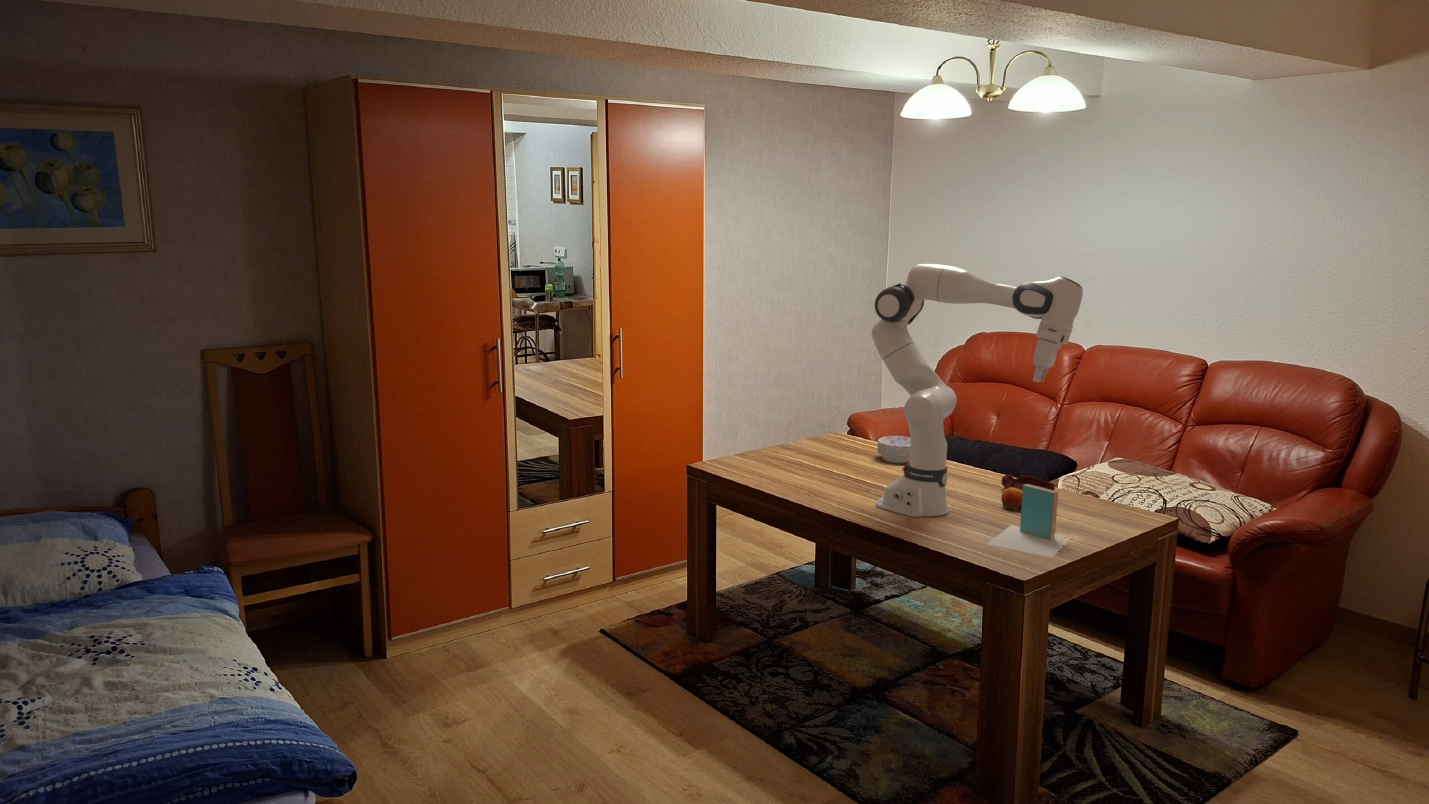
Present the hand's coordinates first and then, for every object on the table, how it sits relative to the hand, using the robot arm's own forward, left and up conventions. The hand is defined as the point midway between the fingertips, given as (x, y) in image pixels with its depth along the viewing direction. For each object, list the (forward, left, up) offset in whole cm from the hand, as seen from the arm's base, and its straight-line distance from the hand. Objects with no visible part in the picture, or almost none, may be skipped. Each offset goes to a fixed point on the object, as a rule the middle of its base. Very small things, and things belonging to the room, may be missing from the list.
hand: (1037, 381), depth 272 cm
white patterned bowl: (-65, +51, -45) cm, 94 cm away
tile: (+4, -4, -44) cm, 44 cm away
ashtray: (-11, +35, -45) cm, 58 cm away
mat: (+4, -10, -44) cm, 46 cm away
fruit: (-10, +18, -45) cm, 49 cm away
